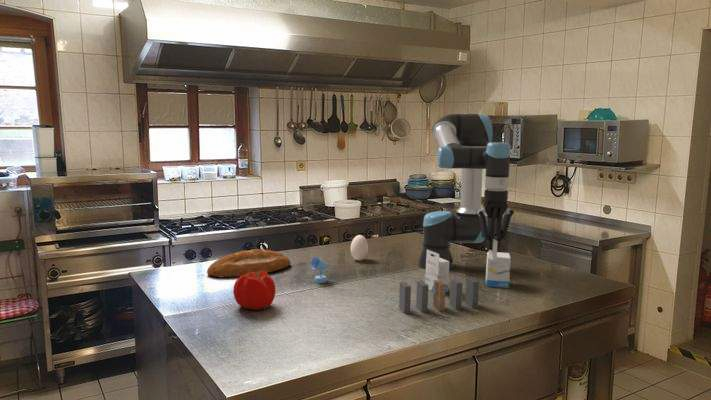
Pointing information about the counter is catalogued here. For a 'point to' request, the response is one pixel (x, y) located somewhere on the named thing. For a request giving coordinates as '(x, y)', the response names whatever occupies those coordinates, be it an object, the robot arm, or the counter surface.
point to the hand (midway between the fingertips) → (492, 259)
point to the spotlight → (319, 265)
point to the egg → (359, 247)
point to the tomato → (254, 290)
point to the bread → (248, 263)
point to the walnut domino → (439, 295)
